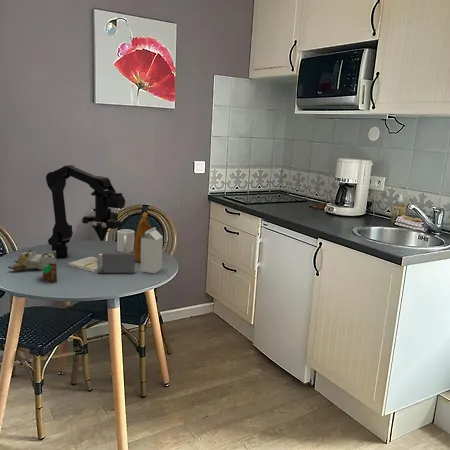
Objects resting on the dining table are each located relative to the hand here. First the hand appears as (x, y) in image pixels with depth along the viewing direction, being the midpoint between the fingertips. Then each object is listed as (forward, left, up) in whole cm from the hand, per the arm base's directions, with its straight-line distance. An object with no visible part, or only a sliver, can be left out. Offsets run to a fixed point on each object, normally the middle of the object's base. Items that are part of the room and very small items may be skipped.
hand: (101, 240), depth 203 cm
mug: (+10, +21, -11) cm, 26 cm away
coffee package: (+19, +9, -11) cm, 24 cm away
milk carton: (+22, -9, -11) cm, 26 cm away
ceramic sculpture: (-29, -6, -11) cm, 32 cm away
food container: (-19, -19, -11) cm, 29 cm away
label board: (-4, -1, -11) cm, 12 cm away
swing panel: (+7, -12, -10) cm, 17 cm away
